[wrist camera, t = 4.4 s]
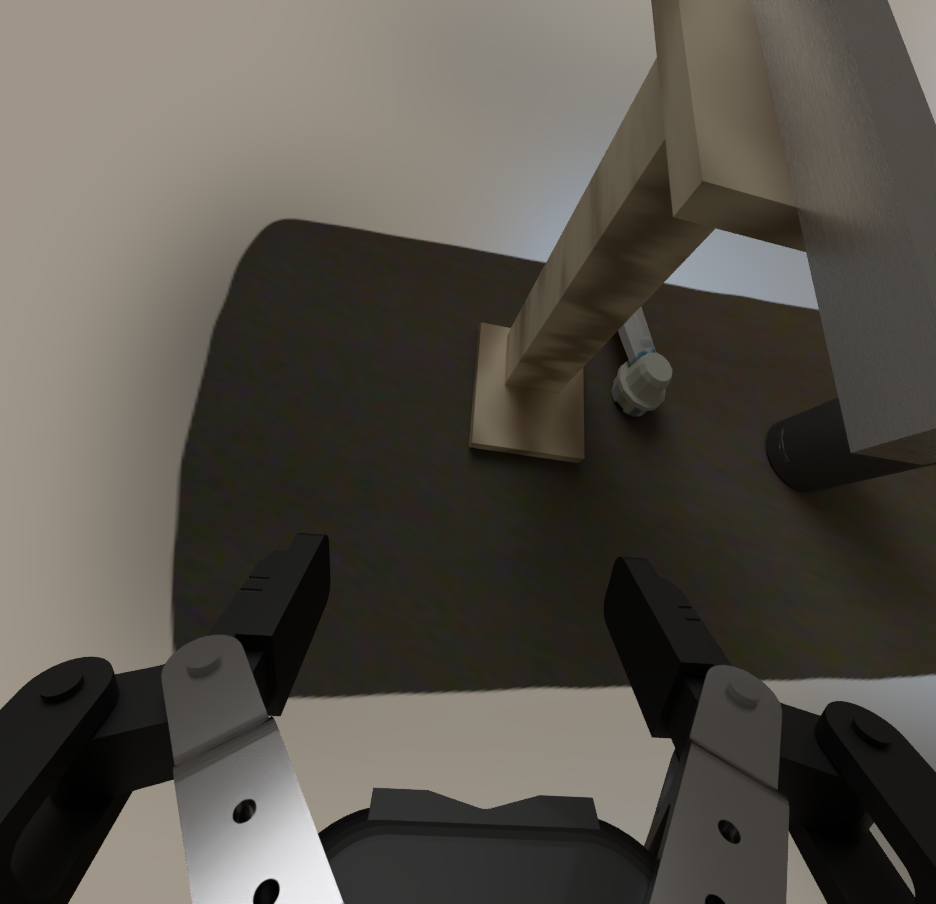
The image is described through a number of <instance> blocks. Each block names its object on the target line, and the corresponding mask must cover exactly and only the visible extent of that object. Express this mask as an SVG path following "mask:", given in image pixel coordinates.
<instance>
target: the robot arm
mask: <svg viewBox="0 0 936 904" xmlns="http://www.w3.org/2000/svg"><path fill="white" fill-rule="evenodd" d="M766 443H767V452H768V456H769V459H770V462H771V464H772V466H773V468H774V469H775V471H776V472H777V474H778V475H779V476H780V477H781V478H782V479H783V480H784V481H785V482H786V483H787V484H789V485H790V486H792V487H794V488H795V489H798V490H801V491H805V492H814V491H819V490H823V489H828V488H832V487H837V486H841V485H846V484H851V483H855V482H860V481H864V480H868V479H873V478H877V477H882V476H886V475H891V474H895V473H899V472H904V471H908V470H913V469H917V468H921V467H926V466H930V465H935V464H936V462H935V463H931V464H926V465H920V464H914V463H908V462H903V461H897V460H891V459H885V458H879V457H873V456H867V455H861V454H855V453H851V452H850V447H849V443H848V438H847V434H846V429H845V425H844V420H843V416H842V411H841V407H840V402H839V397H838V398H836V399H833V400H831V401H828V402H826V403H823V404H821V405H819V406H816V407H814V408H811V409H809V410H806V411H804V412H801V413H799V414H797V415H794V416H792V417H789V418H787V419H785V420H782V421H780V422H778V423H776V424H775V425H773V427H772V428H771V429H770V431H769V433H768V436H767V442H766ZM329 591H330V557H329V539H328V536H327V535H319V534H305V533H298V534H297V535H296V537H295V538H294V540H293V542H292V543H291V545H290V546H289V548H288V550H287V551H277V550H275V551H274V552H273V553H271V554H270V555H268V556H267V557H265V558H264V559H263V560H261V561H260V562H259V563H258V564H257V566H256V567H255V569H254V570H253V571H252V573H251V574H250V576H249V579H247V580H246V581H245V583H244V584H243V586H242V587H241V590H240V591H238V593H237V594H236V596H235V597H234V599H233V600H232V601H231V603H230V604H229V606H228V607H227V609H226V610H225V611H224V613H223V614H222V616H221V617H220V619H219V620H218V621H217V623H216V624H215V626H214V627H213V629H212V630H211V632H210V633H209V634H208V636H206V637H202V638H199V639H196V640H194V641H192V642H190V643H188V644H186V645H184V646H183V647H181V648H180V649H179V650H177V651H176V652H175V653H174V654H173V655H172V656H171V657H170V658H169V660H168V661H167V662H166V664H163V665H160V666H156V667H151V668H146V669H141V670H135V671H131V672H125V673H120V674H114V671H113V668H112V665H111V664H110V663H109V662H108V661H107V660H105V659H103V658H99V657H82V658H76V659H73V660H69V661H66V662H63V663H60V664H58V665H56V666H53V667H51V668H50V669H48V670H46V671H44V672H42V673H40V674H39V675H37V676H36V677H34V678H33V679H32V680H30V681H29V682H28V683H27V684H26V685H25V686H23V687H22V688H21V689H20V690H19V691H18V692H17V693H16V694H15V695H14V696H13V697H12V699H10V700H9V702H7V703H6V705H5V706H4V707H3V708H2V709H1V710H0V904H68V902H69V901H70V899H71V897H72V896H73V894H74V892H75V891H76V889H77V887H78V885H79V884H80V882H81V880H82V878H83V877H84V875H85V873H86V871H87V870H88V868H89V866H90V864H91V862H92V861H93V859H94V857H95V856H96V854H97V852H98V851H99V849H100V847H101V845H102V844H103V842H104V840H105V838H106V837H107V835H108V833H109V831H110V830H111V828H112V826H113V824H114V823H115V821H116V819H117V818H118V816H119V814H120V812H121V810H122V809H123V807H124V805H125V804H126V802H127V800H128V798H129V797H130V795H131V793H132V791H134V790H137V789H141V788H144V787H148V786H152V785H156V784H159V783H163V782H166V781H170V780H174V783H175V790H176V796H177V803H178V809H179V816H180V824H181V830H182V837H183V844H184V850H185V857H186V864H187V871H188V878H189V884H190V891H191V897H192V904H786V890H787V861H788V831H789V832H790V834H791V836H792V838H793V840H794V842H795V844H796V845H797V847H798V849H799V851H800V853H801V855H802V857H803V859H804V860H805V862H806V864H807V866H808V868H809V870H810V872H811V874H812V875H813V877H814V879H815V881H816V883H817V885H818V887H819V889H820V890H821V892H822V894H823V896H824V898H825V900H826V902H827V904H936V772H935V771H934V770H933V769H932V768H931V766H929V764H928V763H927V762H926V761H925V760H924V759H923V757H921V755H920V754H919V753H918V752H917V751H916V750H915V749H914V747H913V746H912V745H911V744H910V743H909V742H908V741H907V740H906V739H905V737H904V736H903V735H902V734H901V733H900V732H899V731H897V729H895V728H894V727H893V726H892V725H891V724H889V723H888V722H887V721H885V720H884V719H882V718H881V717H879V716H878V715H876V714H874V713H873V712H871V711H869V710H867V709H865V708H863V707H861V706H858V705H855V704H852V703H849V702H843V701H836V702H831V703H830V704H828V705H827V706H826V708H825V710H824V711H823V713H822V715H821V716H819V715H816V714H813V713H810V712H807V711H804V710H801V709H797V708H795V707H791V706H788V705H785V704H782V703H780V702H779V701H778V699H777V697H776V696H775V694H774V693H773V692H772V691H771V690H770V688H768V687H767V686H766V685H765V684H764V683H763V682H762V681H760V680H759V679H758V678H756V677H755V676H753V675H752V674H750V673H748V672H746V671H744V670H742V669H739V668H736V667H733V666H732V665H731V663H730V662H729V660H728V659H727V657H726V656H725V654H724V653H723V651H722V650H721V648H720V647H719V645H718V644H717V643H716V641H715V640H714V638H713V637H712V635H711V634H710V632H709V631H708V629H707V628H706V626H705V625H704V623H703V622H701V621H700V618H699V616H698V615H697V613H696V612H695V610H692V606H691V604H690V603H689V601H688V600H687V598H686V597H685V595H684V594H683V593H682V591H680V590H679V589H678V588H677V587H676V586H674V585H673V584H672V583H671V582H670V581H668V580H667V579H666V578H659V576H658V574H657V573H656V571H655V570H654V568H653V567H652V565H651V563H650V562H649V561H648V560H647V559H645V558H630V557H618V558H617V559H616V561H615V563H614V566H613V570H612V574H611V578H610V581H609V585H608V589H607V592H606V596H605V600H604V617H605V622H606V625H607V627H608V630H609V632H610V635H611V637H612V640H613V642H614V644H615V647H616V649H617V652H618V654H619V657H620V659H621V662H622V664H623V667H624V669H625V672H626V674H627V677H628V679H629V682H630V684H631V687H632V689H633V691H634V694H635V696H636V699H637V701H638V704H639V706H640V709H641V711H642V714H643V716H644V719H645V721H646V724H647V726H648V728H649V731H650V733H651V736H652V737H656V738H657V737H658V738H671V739H672V741H673V744H674V746H675V751H674V753H673V755H672V758H671V761H670V764H669V767H668V771H667V774H666V778H665V781H664V785H663V788H662V791H661V795H660V798H659V801H658V804H657V808H656V811H655V815H654V818H653V821H652V825H651V828H650V831H649V834H648V837H647V840H646V842H645V845H644V846H643V845H641V844H640V843H639V842H638V841H636V840H635V839H634V838H633V837H631V836H630V835H628V834H627V833H625V832H623V831H622V830H620V829H619V828H617V827H615V826H613V825H611V824H609V823H607V822H605V821H602V820H599V819H598V817H597V813H596V810H595V805H594V801H593V798H586V797H565V796H544V795H543V796H542V795H540V796H536V797H532V798H528V799H524V800H521V801H517V802H513V803H509V804H506V805H502V806H498V807H495V808H491V809H481V808H478V807H474V806H471V805H469V804H466V803H463V802H460V801H457V800H455V799H451V798H449V797H446V796H443V795H440V794H437V793H435V792H432V791H429V790H411V789H389V788H373V792H372V798H371V804H370V808H367V809H363V810H359V811H357V812H354V813H352V814H350V815H347V816H345V817H343V818H341V819H339V820H338V821H336V822H334V823H332V824H331V825H329V826H328V827H326V828H325V829H324V830H322V831H321V832H320V833H317V831H316V828H315V825H314V823H313V820H312V818H311V815H310V812H309V809H308V807H307V804H306V801H305V799H304V796H303V794H302V791H301V788H300V785H299V783H298V780H297V777H296V775H295V772H294V769H293V767H292V764H291V762H290V759H289V756H288V753H287V750H286V748H285V745H284V742H283V740H282V737H281V735H280V732H279V729H278V727H277V724H276V722H275V720H274V718H273V717H270V718H269V717H268V716H281V714H282V711H283V709H284V707H285V704H286V702H287V699H288V697H289V694H290V692H291V689H292V687H293V685H294V682H295V680H296V677H297V675H298V672H299V670H300V667H301V665H302V663H303V660H304V658H305V655H306V653H307V650H308V648H309V645H310V643H311V641H312V638H313V636H314V633H315V631H316V628H317V626H318V623H319V621H320V619H321V616H322V614H323V611H324V609H325V606H326V604H327V600H328V596H329ZM874 822H875V824H876V825H877V827H878V828H879V830H880V831H881V833H882V834H883V835H884V837H885V838H886V840H887V841H888V842H889V844H890V845H891V846H892V848H893V850H894V851H895V852H896V854H897V855H898V857H899V858H900V860H901V861H902V863H903V864H904V866H905V867H906V869H907V871H908V873H909V875H910V877H911V879H912V882H913V885H914V889H915V897H914V895H913V894H912V892H911V891H910V889H909V888H908V887H907V885H906V883H905V882H904V880H903V879H902V877H901V876H900V875H899V873H898V872H897V870H896V869H895V867H894V866H893V864H892V863H891V861H890V860H889V858H888V857H887V855H886V854H885V852H884V851H883V849H882V848H881V846H880V845H879V844H878V842H877V841H876V839H875V838H874V836H873V835H872V833H871V832H870V830H869V828H870V827H871V826H872V824H873V823H874Z"/></svg>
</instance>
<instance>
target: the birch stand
mask: <svg viewBox="0 0 936 904" xmlns="http://www.w3.org/2000/svg"><path fill="white" fill-rule="evenodd" d="M651 2H652V11H653V21H654V31H655V41H656V51H657V58H656V60H655V62H654V64H653V66H652V68H651V69H650V71H649V73H648V75H647V77H646V79H645V81H644V82H643V84H642V86H641V88H640V90H639V92H638V94H637V95H636V97H635V99H634V101H633V103H632V105H631V107H630V108H629V110H628V112H627V114H626V116H625V118H624V120H623V121H622V123H621V125H620V127H619V129H618V131H617V133H616V135H615V136H614V138H613V140H612V142H611V144H610V146H609V148H608V149H607V151H606V154H605V155H604V157H603V158H602V160H601V162H600V164H599V166H598V168H597V170H596V172H595V173H594V175H593V177H592V179H591V181H590V183H589V185H588V187H587V188H586V190H585V192H584V194H583V196H582V197H581V199H580V201H579V203H578V205H577V207H576V209H575V211H574V212H573V214H572V216H571V218H570V220H569V222H568V223H567V226H566V227H565V229H564V231H563V233H562V235H561V236H560V238H559V240H558V242H557V244H556V246H555V248H554V249H553V251H552V253H551V255H550V257H549V259H548V261H547V262H546V264H545V266H544V268H543V270H542V272H541V274H540V275H539V277H538V279H537V281H536V283H535V285H534V287H533V288H532V290H531V292H530V294H529V296H528V298H527V300H526V301H525V303H524V305H523V307H522V309H521V311H520V313H519V314H518V316H517V318H516V320H515V322H514V324H513V326H512V327H511V328H506V327H501V326H496V325H491V324H486V323H481V324H480V327H479V329H478V337H477V350H476V362H475V375H474V388H473V400H472V413H471V426H470V438H469V447H470V448H477V449H484V450H491V451H498V452H505V453H512V454H519V455H526V456H533V457H540V458H547V459H554V460H561V461H568V462H575V463H579V462H580V461H582V460H584V379H583V367H584V366H585V365H586V364H587V363H588V361H589V360H590V359H591V358H592V357H593V356H594V355H595V354H596V353H597V352H598V351H599V350H600V349H601V348H602V347H603V346H604V345H605V344H606V343H607V342H608V341H609V339H610V338H611V337H612V336H613V335H614V334H615V333H616V332H617V331H618V330H619V329H620V328H621V327H622V326H623V325H624V324H625V323H626V322H627V321H628V320H629V318H630V317H631V316H632V315H633V314H634V313H635V312H636V311H637V310H638V309H639V308H640V307H641V306H642V305H643V304H644V303H645V302H646V301H647V300H648V299H649V298H650V296H651V295H652V294H653V293H654V292H655V291H656V290H657V289H658V288H659V287H660V286H661V285H662V284H663V283H664V282H665V281H666V280H667V279H668V278H669V277H670V275H671V274H672V273H673V272H674V271H675V270H676V269H677V268H678V267H679V266H680V265H681V264H682V263H683V262H684V261H685V260H686V258H688V257H689V256H690V255H691V253H692V252H693V251H694V250H695V249H696V248H697V247H698V246H699V245H700V244H701V243H702V242H703V241H704V240H705V239H706V238H707V237H708V236H709V235H710V233H711V232H712V231H713V230H714V229H715V228H717V229H720V230H724V231H728V232H732V233H735V234H739V235H743V236H747V237H751V238H755V239H758V240H762V241H766V242H770V243H774V244H777V245H781V246H785V247H789V248H793V249H796V250H800V251H804V252H806V248H805V244H804V239H803V235H802V230H801V226H800V221H799V217H798V212H797V207H796V203H795V198H794V194H793V189H792V185H791V180H790V176H789V171H788V167H787V162H786V158H785V153H784V149H783V144H782V140H781V135H780V131H779V126H778V121H777V117H776V112H775V108H774V103H773V99H772V94H771V90H770V85H769V81H768V76H767V72H766V67H765V63H764V58H763V54H762V49H761V45H760V40H759V36H758V31H757V27H756V22H755V17H754V13H753V8H752V4H751V0H651Z"/></svg>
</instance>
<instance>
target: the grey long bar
mask: <svg viewBox="0 0 936 904" xmlns="http://www.w3.org/2000/svg"><path fill="white" fill-rule="evenodd" d="M751 4H752V8H753V13H754V17H755V22H756V27H757V31H758V36H759V40H760V45H761V49H762V54H763V58H764V63H765V67H766V72H767V76H768V81H769V85H770V90H771V94H772V99H773V103H774V108H775V112H776V117H777V121H778V126H779V131H780V135H781V140H782V144H783V149H784V153H785V158H786V162H787V167H788V171H789V176H790V180H791V185H792V189H793V194H794V198H795V203H796V207H797V212H798V217H799V221H800V226H801V230H802V235H803V239H804V244H805V248H806V253H807V257H808V262H809V266H810V270H811V275H812V280H813V284H814V289H815V293H816V298H817V302H818V307H819V312H820V316H821V321H822V325H823V330H824V334H825V339H826V343H827V348H828V352H829V357H830V361H831V366H832V370H833V375H834V379H835V384H836V388H837V393H838V397H839V402H840V407H841V411H842V416H843V420H844V425H845V429H846V434H847V438H848V443H849V447H850V452H851V453H855V454H861V455H867V456H873V457H879V458H885V459H891V460H897V461H903V462H908V463H914V464H920V465H926V464H931V463H935V462H936V124H935V122H934V119H933V117H932V114H931V112H930V109H929V106H928V104H927V101H926V98H925V96H924V93H923V91H922V88H921V86H920V83H919V81H918V78H917V75H916V73H915V70H914V67H913V65H912V63H911V60H910V57H909V55H908V52H907V49H906V47H905V44H904V42H903V39H902V37H901V34H900V31H899V29H898V26H897V24H896V21H895V18H894V16H893V13H892V11H891V8H890V6H889V3H888V0H751Z"/></svg>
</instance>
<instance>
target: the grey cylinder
mask: <svg viewBox="0 0 936 904" xmlns="http://www.w3.org/2000/svg"><path fill="white" fill-rule="evenodd" d="M618 333H619V335H620V338H621V341H622V343H623V346H624V349H625V351H626V354H627V357H628V359H629V360H628V361H627V362H625V363H624V364H623V365H622V366H621V367H620V368H619V369H618V374H617V377H616V378H615V379H614V381H613V388H612V390H611V393H612V396H613V399H614V402H618V403H619V405H620V406H621V407H622V408H623V412H625V413H627V414H629V415H630V416H632V417H633V416H643V415H644V414H645V413H646V412H647V411H651V410H655V409H656V408H657V407H658V406H659V405H660V404H661V403H662V402H663V401H664V400H665V390H666V389H665V388H666V387H667V386H668V384H669V383H670V381H671V377H672V369H671V366H670V364H669V362H668V361H667V360H666V359H665V358H664V357H663V356H662V355H660V354H658V353H656V350H655V347H654V344H653V341H652V338H651V335H650V332H649V329H648V326H647V323H646V320H645V317H644V314H643V310H642V307H640V308H639V309H638V310H637V311H636V312H635V313H634V314H633V315H632V316H631V317H630V318H629V320H628V321H627V322H626V323H625V324H624V325H623V326H622V327H621V328H620V329H619V330H618Z"/></svg>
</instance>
